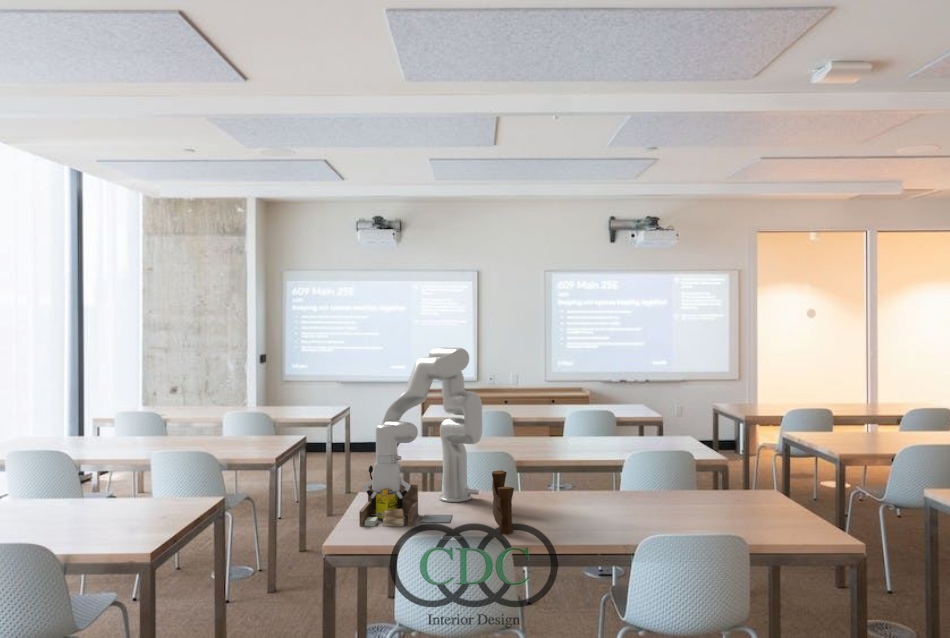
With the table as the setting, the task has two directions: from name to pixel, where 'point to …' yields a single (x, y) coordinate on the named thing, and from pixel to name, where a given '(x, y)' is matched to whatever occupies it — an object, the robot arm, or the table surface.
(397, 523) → the offcut
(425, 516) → the pad
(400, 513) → the offcut
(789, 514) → the table surface
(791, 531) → the table surface
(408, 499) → the rack
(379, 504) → the supplement box
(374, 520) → the offcut
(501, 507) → the decorative fence
